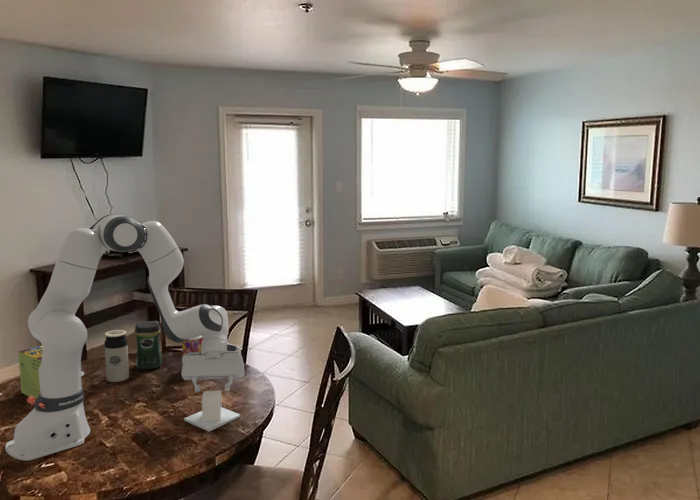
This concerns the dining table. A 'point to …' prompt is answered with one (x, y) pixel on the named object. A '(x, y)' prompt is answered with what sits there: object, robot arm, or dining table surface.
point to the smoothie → (192, 345)
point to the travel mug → (116, 356)
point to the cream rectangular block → (211, 405)
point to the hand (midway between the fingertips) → (212, 390)
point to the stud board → (212, 424)
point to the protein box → (30, 370)
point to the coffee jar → (148, 345)
